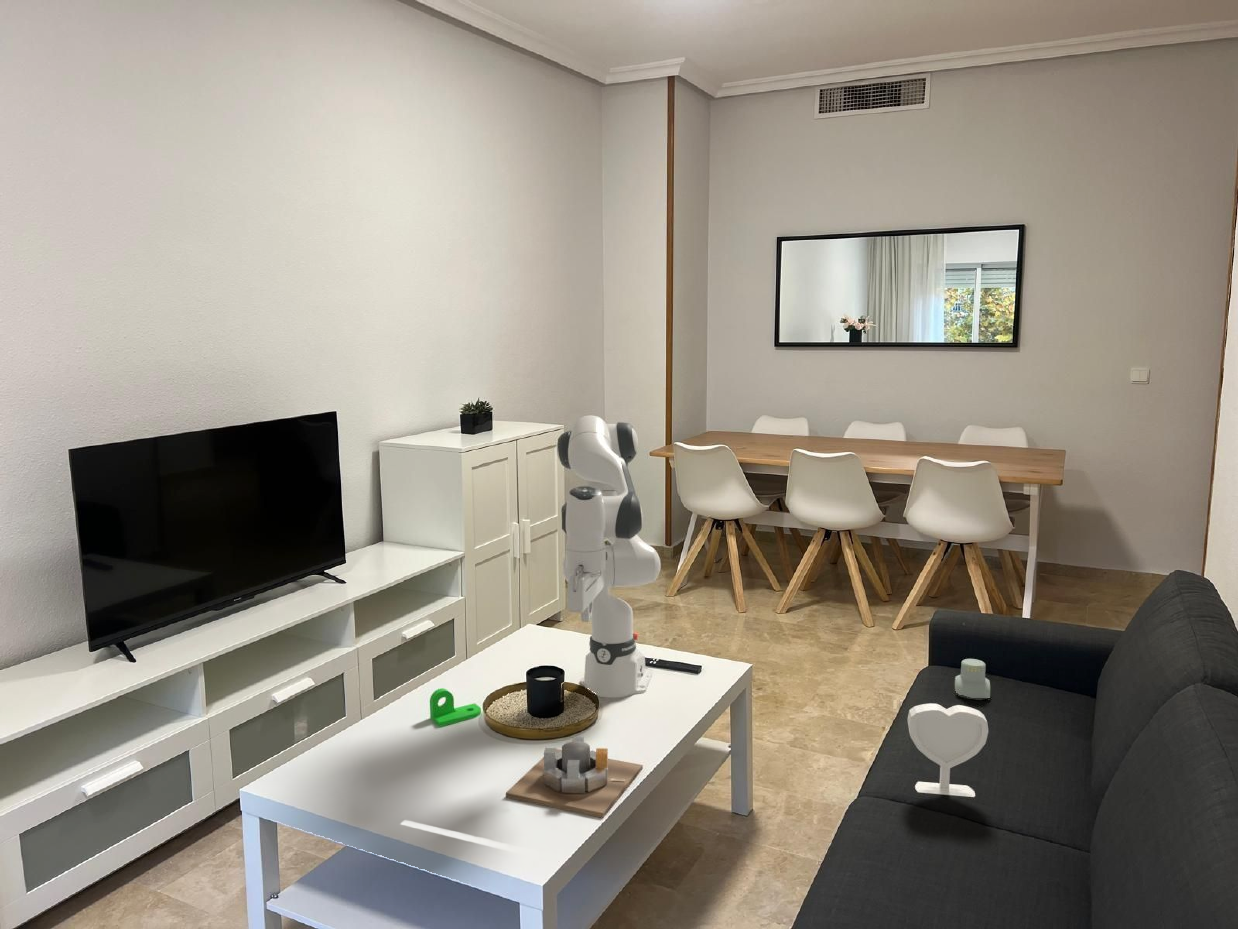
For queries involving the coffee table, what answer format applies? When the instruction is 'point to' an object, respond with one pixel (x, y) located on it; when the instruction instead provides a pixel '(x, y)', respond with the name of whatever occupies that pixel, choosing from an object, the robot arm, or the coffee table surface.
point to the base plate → (586, 803)
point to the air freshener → (972, 680)
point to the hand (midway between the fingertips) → (586, 620)
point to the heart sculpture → (947, 741)
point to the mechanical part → (450, 709)
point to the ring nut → (575, 771)
